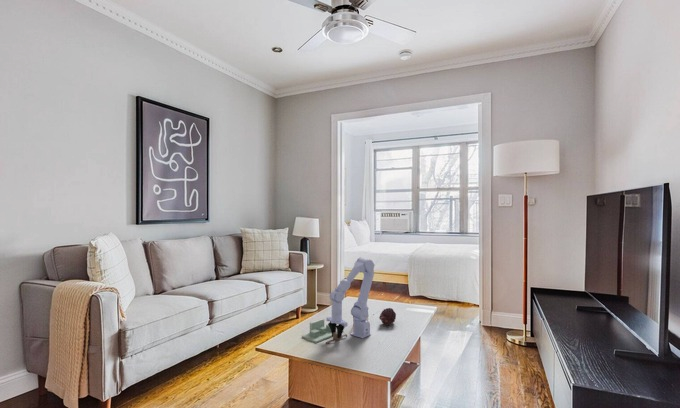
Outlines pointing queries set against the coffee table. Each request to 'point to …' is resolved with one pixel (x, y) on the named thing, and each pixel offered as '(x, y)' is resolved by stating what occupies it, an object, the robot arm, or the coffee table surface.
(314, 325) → the mint green baseplate
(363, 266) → the robot arm
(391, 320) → the pine cone
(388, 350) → the coffee table surface
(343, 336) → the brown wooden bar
